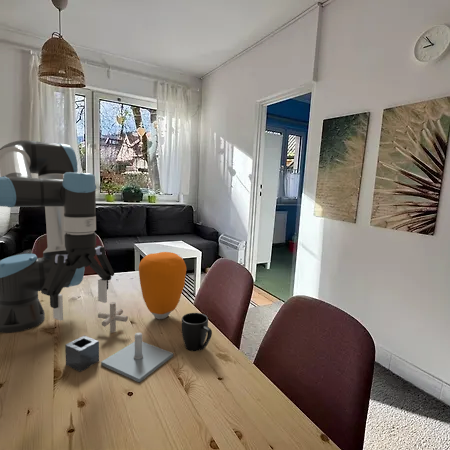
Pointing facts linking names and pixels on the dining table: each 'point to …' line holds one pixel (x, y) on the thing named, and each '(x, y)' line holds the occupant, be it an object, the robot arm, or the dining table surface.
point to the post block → (137, 359)
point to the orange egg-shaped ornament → (162, 282)
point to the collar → (82, 353)
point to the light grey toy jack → (112, 317)
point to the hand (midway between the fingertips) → (82, 309)
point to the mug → (195, 331)
